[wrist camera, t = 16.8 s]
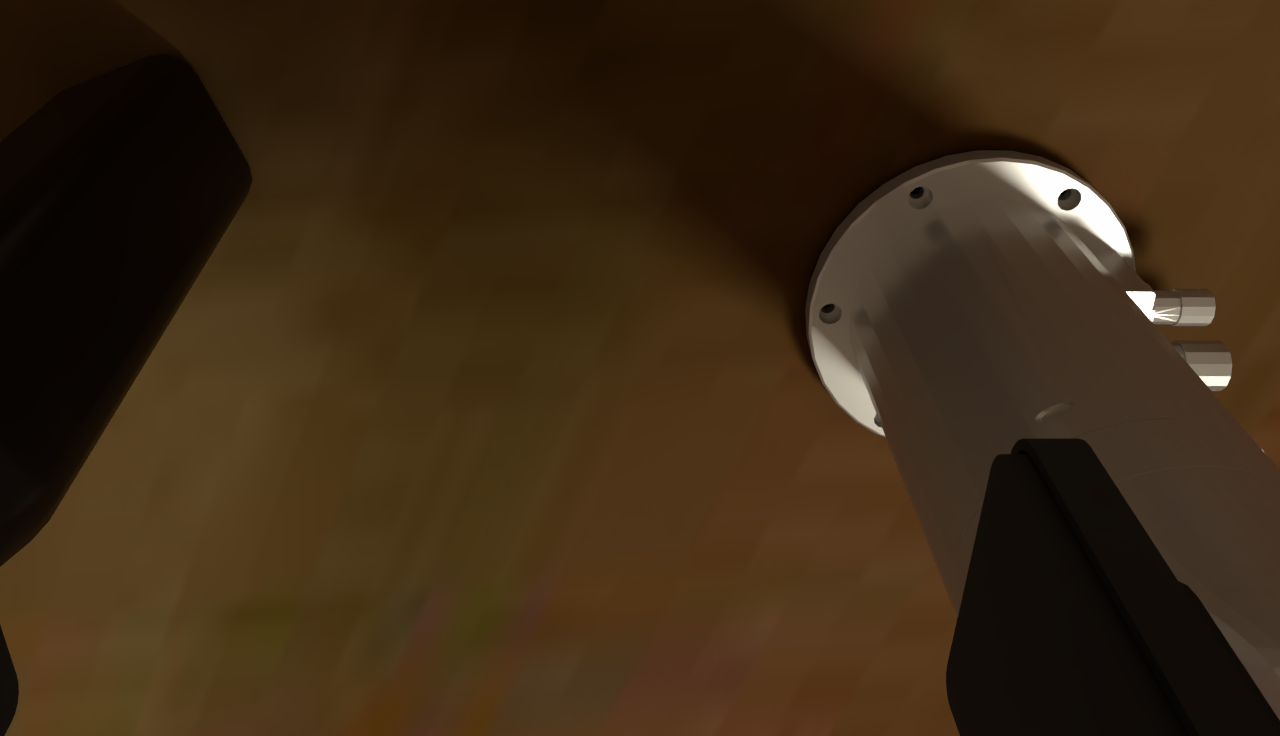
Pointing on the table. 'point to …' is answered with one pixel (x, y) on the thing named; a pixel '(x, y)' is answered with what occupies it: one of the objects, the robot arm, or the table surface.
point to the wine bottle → (98, 262)
